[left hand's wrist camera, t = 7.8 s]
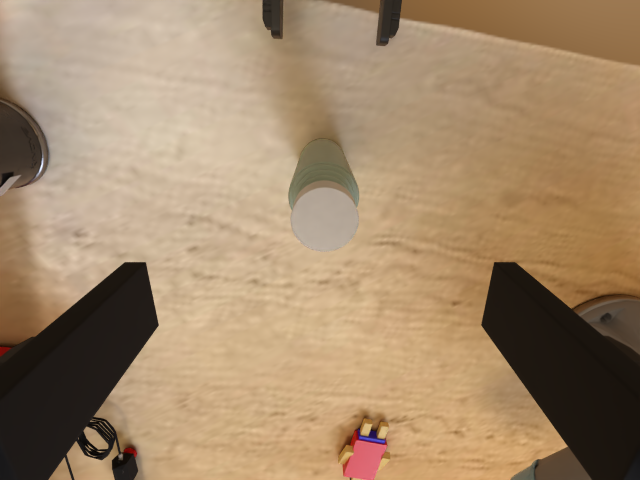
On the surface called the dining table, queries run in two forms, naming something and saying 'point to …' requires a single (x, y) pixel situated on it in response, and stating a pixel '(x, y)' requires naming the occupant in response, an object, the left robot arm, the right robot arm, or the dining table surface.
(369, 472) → the toy figure
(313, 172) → the bottle
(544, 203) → the dining table surface
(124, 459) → the electric hoist
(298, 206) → the cap
